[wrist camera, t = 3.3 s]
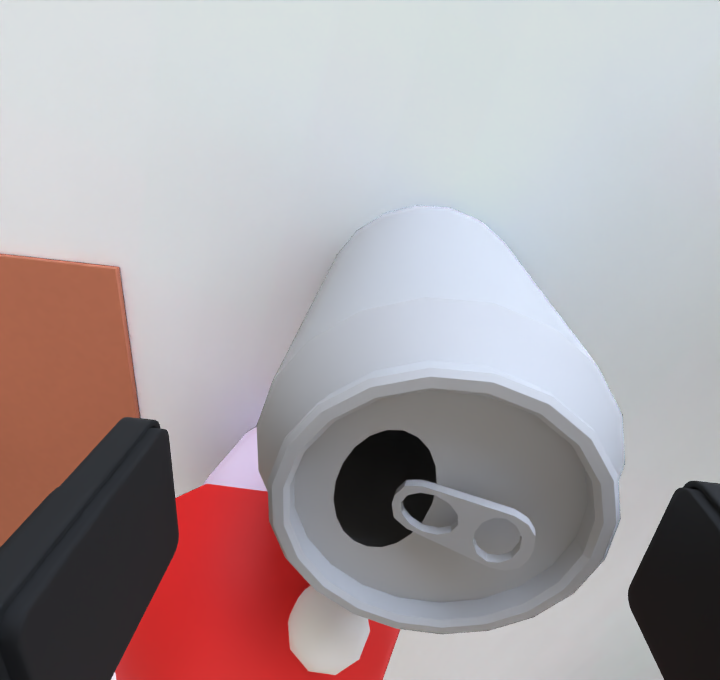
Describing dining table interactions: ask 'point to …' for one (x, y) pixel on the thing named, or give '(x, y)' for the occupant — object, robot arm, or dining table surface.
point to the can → (439, 434)
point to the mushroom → (245, 598)
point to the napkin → (57, 374)
